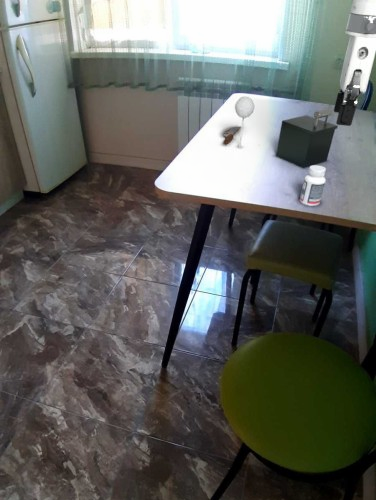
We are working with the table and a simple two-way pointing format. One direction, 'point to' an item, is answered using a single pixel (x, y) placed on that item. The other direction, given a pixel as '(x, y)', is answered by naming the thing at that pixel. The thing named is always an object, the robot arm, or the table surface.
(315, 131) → the bin lid
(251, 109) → the lollipop
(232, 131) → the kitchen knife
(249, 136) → the table surface
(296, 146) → the bin
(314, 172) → the pill bottle
